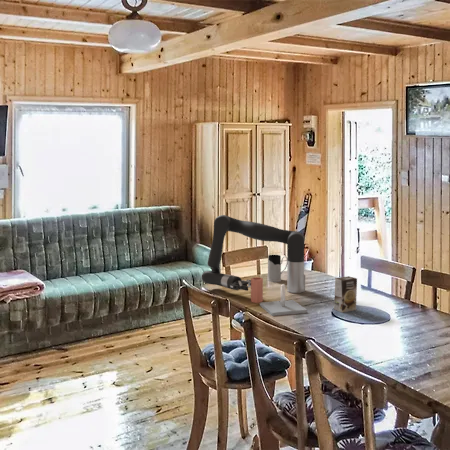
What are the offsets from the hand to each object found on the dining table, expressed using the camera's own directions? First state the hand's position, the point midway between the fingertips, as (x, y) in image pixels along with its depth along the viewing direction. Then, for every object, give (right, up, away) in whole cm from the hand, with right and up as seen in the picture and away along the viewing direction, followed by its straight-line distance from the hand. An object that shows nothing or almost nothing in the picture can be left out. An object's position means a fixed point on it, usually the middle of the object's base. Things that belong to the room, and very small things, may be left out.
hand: (253, 287), depth 287 cm
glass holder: (+17, -1, +45) cm, 49 cm away
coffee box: (+45, -9, -17) cm, 49 cm away
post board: (+14, -9, -15) cm, 23 cm away
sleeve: (+2, -7, -1) cm, 7 cm away
